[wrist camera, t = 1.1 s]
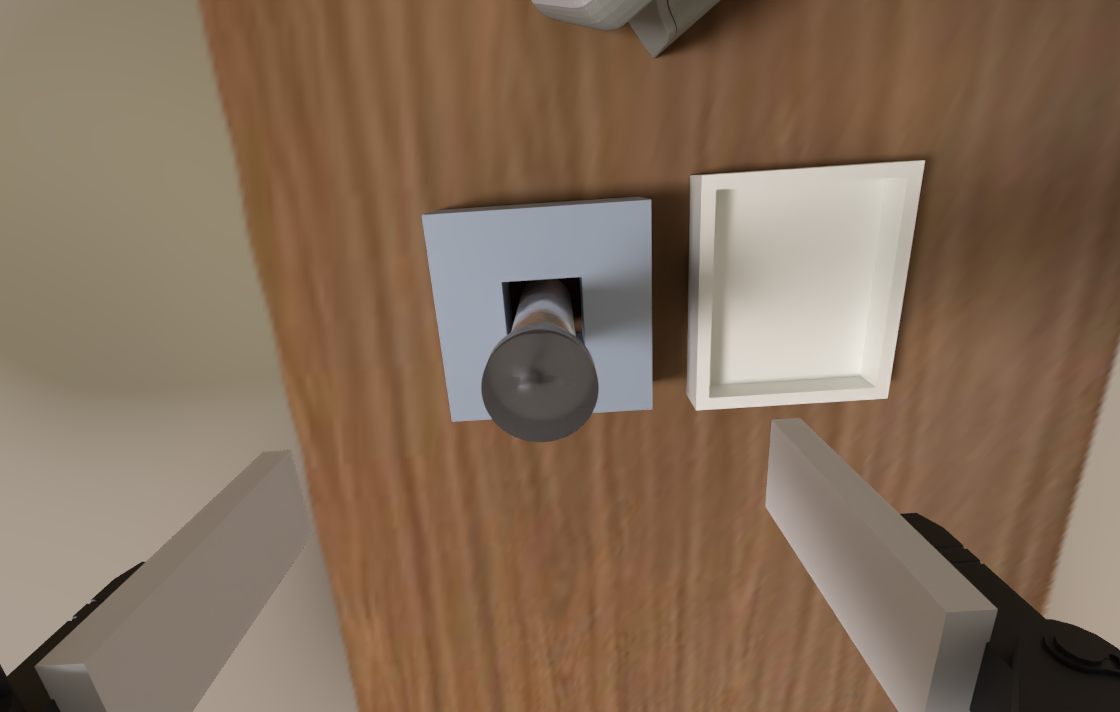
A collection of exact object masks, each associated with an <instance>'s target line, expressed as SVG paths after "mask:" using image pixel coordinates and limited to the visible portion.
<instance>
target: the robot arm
mask: <svg viewBox="0 0 1120 712" xmlns="http://www.w3.org/2000/svg"><path fill="white" fill-rule="evenodd" d="M765 507H766V508H767V510H768V511H769V513H770V514H771V516H772V517H773V519H774V520H775V522H776V524H777V525H778V527H779V528H780V530H781V531H782V533H783V534H784V536H785V537H786V539H787V541H788V542H789V544H790V545H791V547H792V548H793V550H794V551H795V553H796V554H797V556H798V557H799V559H800V561H801V562H802V564H803V565H804V567H805V568H806V570H807V571H808V573H809V574H810V576H811V578H812V579H813V581H814V582H815V584H816V585H817V587H818V588H819V590H820V591H821V593H822V594H823V596H824V598H825V599H826V601H827V602H828V604H829V605H830V607H831V608H832V610H833V611H834V613H835V615H836V616H837V618H838V619H839V621H840V622H841V624H842V625H843V627H844V628H845V630H846V632H847V633H848V635H849V636H850V638H851V639H852V641H853V642H854V644H855V645H856V647H857V648H858V650H859V652H860V653H861V655H862V656H863V658H864V659H865V661H866V662H867V664H868V665H869V667H870V669H871V670H872V672H873V673H874V675H875V676H876V678H877V679H878V681H879V682H880V684H881V685H882V687H883V689H884V690H885V692H886V693H887V695H888V696H889V698H890V699H891V701H892V702H893V704H894V706H895V707H896V709H897V710H898V712H1120V650H1119V649H1118V648H1116V647H1115V646H1113V645H1111V644H1110V643H1109V642H1107V641H1105V640H1104V639H1102V638H1101V637H1099V636H1098V635H1096V634H1093V633H1091V632H1089V631H1086V630H1084V629H1082V628H1080V627H1077V626H1075V625H1072V624H1068V623H1064V622H1060V621H1056V620H1051V619H1050V620H1049V619H1045V618H1044V617H1043V616H1042V615H1040V614H1039V613H1038V612H1037V611H1036V610H1035V609H1034V608H1033V607H1032V606H1030V605H1029V604H1028V603H1027V602H1026V601H1025V600H1024V599H1023V598H1021V597H1020V596H1019V595H1018V594H1017V593H1016V592H1015V591H1014V590H1013V589H1011V588H1010V587H1009V586H1008V585H1007V584H1006V583H1005V582H1004V581H1002V580H1001V579H1000V578H999V577H998V576H997V575H996V574H995V573H993V572H992V571H991V570H990V569H989V568H988V567H987V566H986V565H985V564H981V563H980V560H979V559H978V558H977V557H976V556H974V555H973V554H972V553H971V552H970V551H969V550H968V549H964V548H963V545H962V544H961V543H960V542H959V541H958V540H957V539H955V538H954V537H953V536H952V535H951V534H950V533H949V532H948V531H946V530H945V529H944V528H943V527H941V526H939V525H938V524H936V523H934V522H932V521H930V520H928V519H927V518H925V517H923V516H921V515H919V514H917V513H907V514H899V513H898V512H897V511H896V510H895V509H894V508H893V507H892V506H891V505H890V504H889V503H887V502H886V501H885V500H884V499H883V498H882V497H881V496H880V495H879V494H878V493H877V492H876V491H875V490H874V489H873V488H872V487H871V486H870V485H869V484H868V483H867V482H866V481H865V480H864V479H863V478H862V477H861V476H860V475H859V474H857V473H856V472H855V471H854V470H853V469H852V468H851V467H850V466H849V465H848V464H847V463H846V462H845V461H844V460H843V459H842V458H841V457H840V456H839V455H838V454H837V453H836V452H835V451H834V450H833V449H832V448H831V447H830V446H829V445H828V444H826V443H825V442H824V441H823V440H822V439H821V438H820V437H819V436H818V435H817V434H816V433H815V432H814V431H813V430H812V429H811V428H810V427H809V426H808V425H807V424H806V423H805V422H804V421H803V420H802V419H801V418H792V419H776V420H772V424H771V437H770V451H769V464H768V478H767V491H766V505H765ZM312 534H313V533H312V529H311V525H310V522H309V518H308V514H307V510H306V506H305V502H304V498H303V495H302V491H301V487H300V483H299V479H298V475H297V471H296V467H295V464H294V460H293V456H292V452H291V450H284V451H269V452H262V453H261V454H260V455H259V456H258V457H257V458H256V459H255V460H254V461H253V462H252V463H251V464H250V465H249V466H248V467H246V469H244V470H243V471H242V472H241V473H240V474H239V475H238V476H237V477H236V478H235V479H234V480H233V481H232V482H231V483H229V484H228V485H227V486H226V487H225V488H224V489H223V490H222V491H221V492H220V493H219V494H218V495H217V496H216V497H215V498H213V500H211V501H210V502H209V503H208V504H207V505H206V506H205V507H204V508H203V509H202V510H201V511H200V512H199V513H197V514H196V516H194V517H193V518H192V519H191V520H190V521H189V522H188V523H187V524H186V525H185V526H184V527H183V528H182V529H181V530H179V531H178V532H177V533H176V534H175V535H174V536H173V537H172V538H171V539H170V540H169V541H168V542H167V543H166V544H164V545H163V546H162V547H161V548H160V549H159V550H158V551H157V552H156V553H155V554H154V555H153V556H152V557H151V558H150V559H149V560H148V561H146V562H141V563H140V564H138V565H136V566H134V567H133V568H131V569H130V570H128V571H126V572H125V573H123V574H122V575H120V576H119V577H117V578H115V579H114V580H113V581H111V583H109V584H108V585H107V586H106V587H105V588H104V589H103V590H102V591H101V592H99V593H98V594H97V595H96V596H95V597H94V598H93V599H92V600H91V603H90V604H86V605H85V606H84V607H83V608H82V609H81V610H80V611H78V612H77V613H76V614H75V615H74V616H73V619H72V621H67V622H66V623H65V624H64V625H63V626H62V627H61V628H60V629H59V630H58V631H57V632H55V633H54V634H53V635H52V636H51V637H50V638H49V639H48V640H47V641H45V643H43V644H42V645H41V646H40V647H39V648H38V649H37V650H36V651H35V652H33V653H32V654H31V655H30V656H29V657H28V658H27V659H26V660H25V661H24V662H22V663H21V664H20V665H19V666H18V667H17V668H16V669H15V670H14V671H12V672H11V673H10V674H9V675H8V676H6V675H5V673H4V671H3V669H2V667H1V665H0V712H193V710H194V709H195V707H196V706H197V704H198V703H199V701H200V700H201V698H202V697H203V695H204V694H205V692H206V691H207V689H208V688H209V687H210V685H211V684H212V682H213V681H214V679H215V678H216V676H217V675H218V673H219V672H220V670H221V669H222V667H223V666H224V664H225V663H226V661H227V660H228V659H229V657H230V655H231V654H232V653H233V651H234V650H235V648H236V647H237V645H238V644H239V642H240V641H241V639H242V638H243V636H244V635H245V634H246V632H247V631H248V629H249V628H250V626H251V625H252V623H253V622H254V620H255V619H256V617H257V616H258V614H259V613H260V611H261V610H262V608H263V607H264V605H265V604H266V603H267V601H268V600H269V598H270V597H271V595H272V594H273V592H274V591H275V589H276V588H277V586H278V585H279V583H280V582H281V580H282V579H283V577H284V576H285V574H286V573H287V572H288V570H289V569H290V567H291V566H292V564H293V563H294V561H295V560H296V558H297V557H298V555H299V554H300V552H301V551H302V549H303V548H304V546H305V545H306V543H307V542H308V540H309V539H310V538H311V536H312Z"/></svg>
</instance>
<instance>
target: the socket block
mask: <svg viewBox="0 0 1120 712" xmlns="http://www.w3.org/2000/svg"><path fill="white" fill-rule="evenodd" d="M422 221H423V228H424V235H425V241H426V248H427V255H428V262H429V269H430V275H431V282H432V289H433V296H434V303H435V310H436V316H437V323H438V330H439V337H440V344H441V350H442V357H443V364H444V371H445V378H446V384H447V391H448V398H449V405H450V412H451V418H452V422H456V421H472V420H487V419H492V418H491V417H490V415H489V414H488V412H487V410H486V408H485V405H484V402H483V398H482V393H481V383H482V377H483V372H484V370H485V367H486V364H487V361H488V359H489V356H490V354H491V352H492V350H493V349H494V347H495V346H496V345H497V344H498V342H499V341H501V340H502V339H503V338H504V337H505V336H506V335H508V334H509V333H511V331H512V327H513V320H512V310H511V299H510V289H509V282H512V281H527V280H543V279H558V278H573V277H579V281H580V300H581V320H582V333H575V334H576V337H577V338H578V339H579V340H580V341H581V342H582V343H583V344H584V345H585V346H586V348H587V349H588V350H589V352H590V354H591V356H592V358H593V361H594V364H595V368H596V373H597V378H598V385H599V392H598V399H597V403H596V406H595V408H594V410H593V412H592V413H599V412H615V411H631V410H647V409H652V239H651V199H647V198H643V197H640V196H638V197H623V198H609V199H594V200H579V201H564V202H549V203H534V204H519V205H504V206H489V207H474V208H459V209H444V210H436V211H433V212H430V213H426V214H423V215H422Z"/></svg>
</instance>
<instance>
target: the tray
mask: <svg viewBox="0 0 1120 712" xmlns="http://www.w3.org/2000/svg"><path fill="white" fill-rule="evenodd" d="M924 165H925V160H920V161H894V162H879V163H864V164H849V165H834V166H819V167H805V168H790V169H775V170H760V171H745V172H730V173H715V174H701V175H690V223H689V278H688V333H687V388H686V395H687V396H688V398H689V400H690V401H691V403H692V405H693V406H694V408H695V410H711V409H727V408H743V407H759V406H775V405H791V404H807V403H823V402H839V401H855V400H871V399H887V398H888V393H889V386H890V380H891V374H892V367H893V361H894V355H895V348H896V342H897V336H898V329H899V323H900V317H901V310H902V304H903V298H904V291H905V285H906V279H907V272H908V266H909V260H910V253H911V247H912V241H913V234H914V228H915V222H916V215H917V209H918V203H919V196H920V190H921V184H922V177H923V171H924Z"/></svg>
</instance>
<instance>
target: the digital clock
mask: <svg viewBox="0 0 1120 712" xmlns="http://www.w3.org/2000/svg"><path fill="white" fill-rule="evenodd" d="M719 1H720V0H532V3H534V5H535V7H536V8H537V9H538V10H539V11H540V12H541V13H542V14H544V15H545V16H547V17H550V18H552V19H554V20H558V21H562V22H567V23H571V24H576V25H580V26H585V27H590V28H594V29H599V30H606V31H609V30H616V29H618V28H620V27H622V26H623V25H625V24H626V23H627V22H628V23H629V24H630V26H631V27H632V29H633V30H634V32H635V33H636V35H637V36H638V38H639V39H640V41H641V42H642V44H643V45H644V47H645V48H646V50H647V51H648V52H649V54H650V55H651V56H652V57H653V58H656V57H657V56H658V55H659V54H660V53H661V52H662V51H664V50H665V49H666V48H667V47H668V46H669V45H670V44H672V43H673V42H674V41H675V40H676V39H677V38H678V37H679V36H681V35H682V34H683V33H684V32H685V31H686V30H687V29H688V28H690V27H691V26H692V25H693V24H694V23H695V22H696V21H698V20H699V19H700V18H701V17H702V16H703V15H704V14H705V13H707V12H708V11H709V10H710V9H711V8H712V7H713V6H715V5H716V4H717V3H718V2H719Z"/></svg>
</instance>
